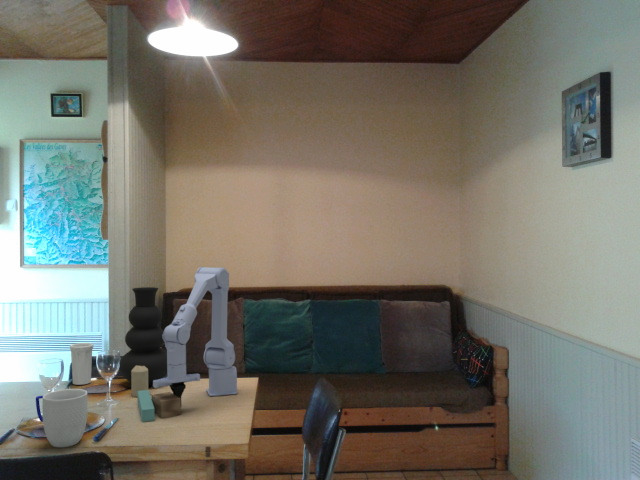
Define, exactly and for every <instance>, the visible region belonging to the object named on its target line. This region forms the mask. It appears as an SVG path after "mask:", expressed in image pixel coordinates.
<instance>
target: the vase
mask: <svg viewBox="0 0 640 480" xmlns="http://www.w3.org/2000/svg"><path fill="white" fill-rule="evenodd" d="M158 290H159V287H154V286H151V287H150V286H149V287H148V286H145V287H142V286H141V287H133V288H132V292H133V293H134V301H135V306H134V305H133V307H132V309H130V311H129V313H128V321H129V323H130V325H131V326H132V327H131V328H130V329H129V330H128V331H127V332H126V334H125V337H124V342H125V344H126V346H127V347H128V348H129V349H131V350H129V351H127V352H126V353H125V354H124V355H123V356H122V357H121V359H120V361H119V364H120V368H119V367H118V368H119V369H118V370H119V372H120V374H121V376H122V377H123V378H124V379H126V380H127V381H129V384H130V383H131V370H132V369H133V368H134V367H135V366H136V365H137V366H145V367H146V368H147V369H148V387H149V386H153V380H158V379H162V378H166V377H167V351H165V350H163V349H162V348H161V347H163V345H165V342H164V340H163V337H162V335H163V333H164V330H163V328H161V327H160V326H159V324H160V323H161V322H162V319H163V312H162V310H161V309H160V308H159V307H158V305H156V296H157V292H158Z"/></svg>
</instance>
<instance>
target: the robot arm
mask: <svg viewBox="0 0 640 480" xmlns="http://www.w3.org/2000/svg"><path fill="white" fill-rule="evenodd" d="M193 278H194V285H193V287H192V289H191V292H190V294H189V297H188V299H187V301H186V303H184V304H182V305H180V307H179V309H178V311H177V313H176V314H175V316H174V318H173V320H172V321H171V323H170V324H169V325H167V326H166V327H165V328H164V330H163V331H164V333H163V335H162V337H163V340H164V345H165V346H164V347H165V348H166V353H167V375H166V376H165V377H163V378H162V379H158V380H153V385H152V387H153V388H154V389H158V388H160V387H166V386H169V388H170V390H171V391H172V392H171V393H173V394H174V395H176V396H177V397H179V398H181V399H182V395H183V394H184V391H185V389H186V388H187V387H186V386H187V385H186V383H191V382H196V381H197V382H200V381H201V374H200V373H192V374H191V373H189V374H187V343H188V341H189V340H190V338H191V337H190V336H191V330H192V324H193V323H194V321H195V319H196V318H197V315H198V311H197V308H198V306H199V304H200V303H201V301H202V300H203V298H204V297H205V295H206V293H207V292H210V294H211V332H210V333H211V334H210V335H211V337H210V340H209V341H208V342H207V343H205V346H204V347H205V350H204V352H203V355H202V356H203V362H204V364H205V365H206V367H207V368H208V388H206V389H205V391H206V393H207V394H208V396H209V397H217V396H218V397H219V396H229V395H236V394H238V372H237V371H238V370H237V368H236V366H234V363H235V361H236V353H235V349H234V348H235V347H234V346H235V344H233V343H232V342H231V341H230V340H229V339H228V338H227V337H228V295H229V294H228V293H229V290H230V273H229V272H228V270H227V269H226V267H209V266H208V267H204V266H200V267H198V268H197V270H196V272H195V274H194V277H193ZM181 406H182V402H181Z"/></svg>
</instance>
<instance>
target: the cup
mask: <svg viewBox="0 0 640 480" xmlns="http://www.w3.org/2000/svg"><path fill="white" fill-rule="evenodd" d="M69 349H70V353H71V354H70V356H71V373H72V384H73V385H77V386H78V385H87V384H91V382H92V367H93V366H92V364H93V363H92V360H93V349H94V344H93V343H92V342H78V343H72V344H70V345H69Z"/></svg>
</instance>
